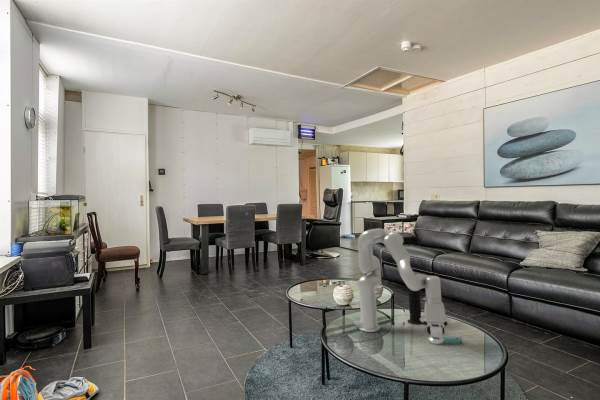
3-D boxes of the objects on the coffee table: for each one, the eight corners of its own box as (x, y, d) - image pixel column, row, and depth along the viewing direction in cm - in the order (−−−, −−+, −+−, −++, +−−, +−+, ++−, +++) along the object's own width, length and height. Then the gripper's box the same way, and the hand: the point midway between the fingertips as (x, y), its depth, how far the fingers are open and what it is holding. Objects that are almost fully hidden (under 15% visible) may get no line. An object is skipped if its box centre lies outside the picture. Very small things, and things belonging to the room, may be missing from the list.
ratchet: (429, 344, 170) (428, 331, 170) (427, 338, 178) (426, 325, 178) (463, 346, 166) (462, 332, 166) (459, 340, 174) (458, 326, 174)
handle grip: (426, 324, 198) (422, 319, 208) (424, 280, 199) (419, 277, 209) (409, 324, 199) (405, 319, 209) (407, 281, 200) (403, 277, 210)
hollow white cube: (430, 336, 171) (430, 327, 171) (429, 332, 176) (428, 323, 176) (442, 337, 169) (442, 327, 170) (440, 333, 175) (440, 323, 175)
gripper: (417, 301, 172) (419, 336, 171) (452, 302, 168) (455, 337, 167) (415, 297, 179) (417, 331, 179) (449, 298, 175) (451, 332, 175)
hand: (435, 333), depth 173 cm, fingers closed on hollow white cube, 5 cm apart
